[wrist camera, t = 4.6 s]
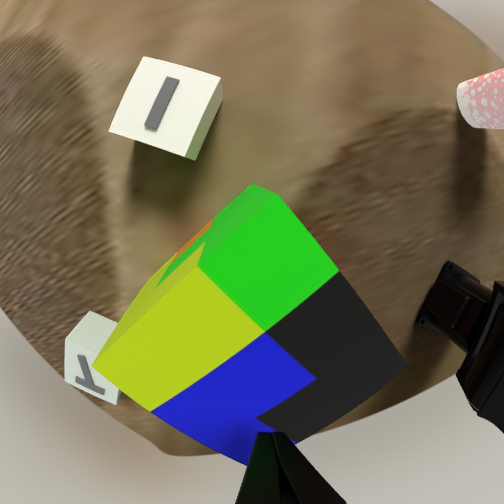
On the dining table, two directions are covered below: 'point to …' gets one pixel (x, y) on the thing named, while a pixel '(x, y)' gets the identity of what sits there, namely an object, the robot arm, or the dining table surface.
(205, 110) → the digit block one
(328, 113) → the dining table surface
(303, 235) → the puzzle toy
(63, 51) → the dining table surface
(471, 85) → the beverage cup
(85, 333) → the digit block seven
